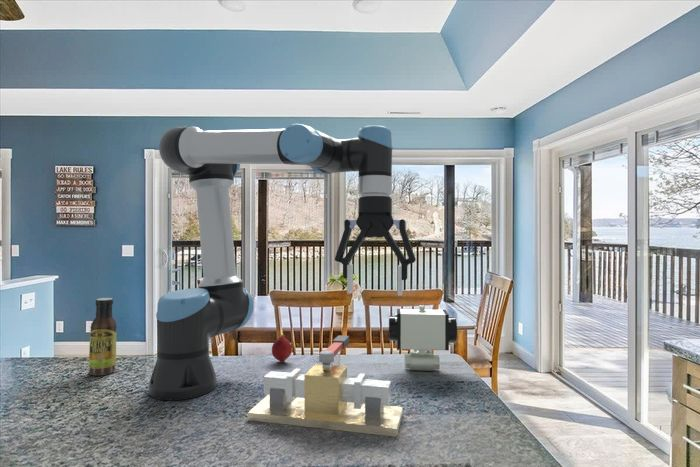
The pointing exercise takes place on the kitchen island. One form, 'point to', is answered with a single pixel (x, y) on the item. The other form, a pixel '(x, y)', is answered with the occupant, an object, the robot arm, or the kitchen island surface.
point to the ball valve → (422, 335)
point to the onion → (281, 349)
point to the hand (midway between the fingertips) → (374, 293)
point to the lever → (333, 349)
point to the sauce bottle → (103, 339)
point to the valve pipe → (328, 401)
